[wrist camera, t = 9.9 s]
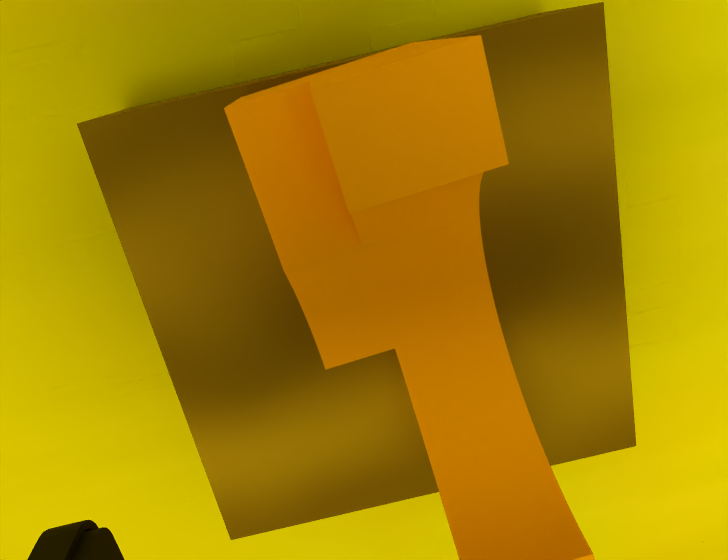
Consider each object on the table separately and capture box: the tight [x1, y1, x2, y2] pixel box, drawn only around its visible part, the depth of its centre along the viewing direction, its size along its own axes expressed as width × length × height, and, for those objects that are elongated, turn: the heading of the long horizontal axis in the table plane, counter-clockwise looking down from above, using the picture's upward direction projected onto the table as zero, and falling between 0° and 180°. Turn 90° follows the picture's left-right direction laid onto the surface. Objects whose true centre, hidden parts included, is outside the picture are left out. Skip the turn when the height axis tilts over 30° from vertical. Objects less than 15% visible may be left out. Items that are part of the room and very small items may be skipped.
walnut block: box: [77, 2, 636, 540], centre depth 19 cm, size 13×13×4 cm
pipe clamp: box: [224, 35, 594, 560], centre depth 14 cm, size 12×4×6 cm, turn 17°
